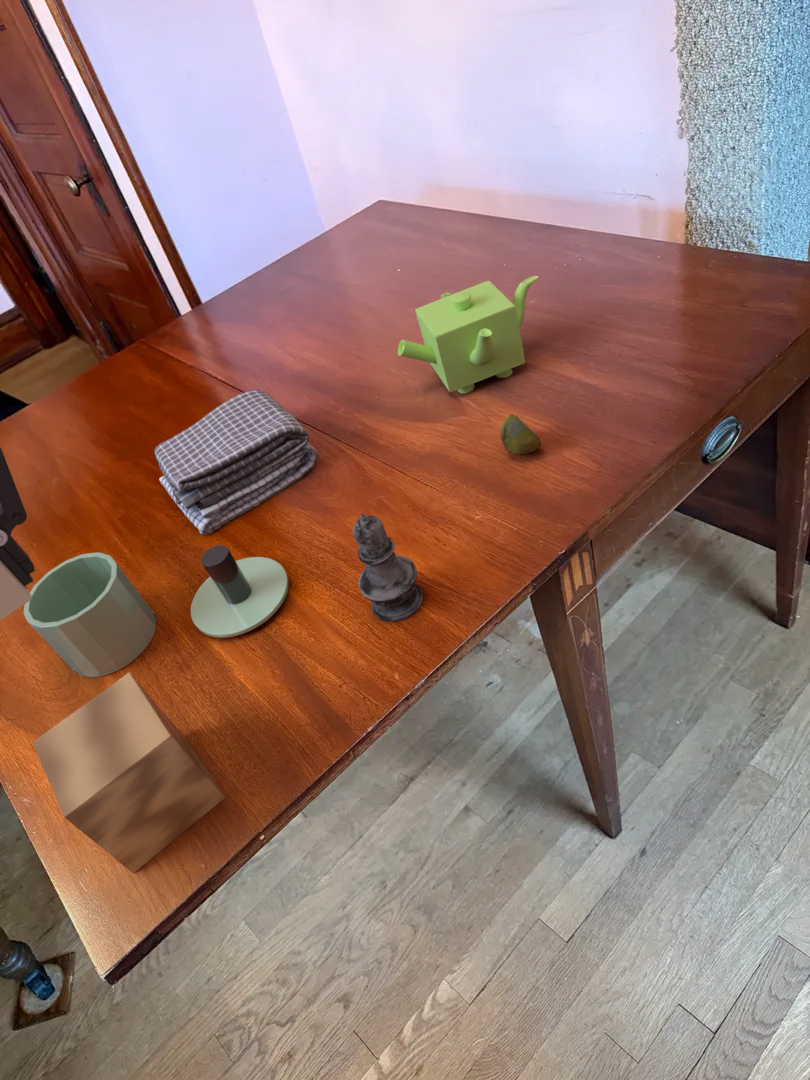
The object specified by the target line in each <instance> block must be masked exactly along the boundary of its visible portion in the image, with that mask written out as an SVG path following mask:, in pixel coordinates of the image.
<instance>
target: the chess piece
mask: <svg viewBox="0 0 810 1080" xmlns="http://www.w3.org/2000/svg"><path fill="white" fill-rule="evenodd" d="M358 518H359V519H356V521H355V523H354V524H353V527H352V535H353V537H354V540H355V542H356V544H357V547H358V552H357V557H358V559H359V561H360V562H361V563H363V564H364V565H365V568H364V569H363V570H362V572H361V574H359V578H358V589H359V591H360V593H361V595H362V596H364V598H366V599H368V600H369V602H371V604H370V605H371V611H372V613H373V615H374V616H375V617H376V618H377V619H379V620H381V621H384V622H388V623H393V622H400V621H404V620H405V619H407V618H410V617H411V616H413V615H414V614H415V613H416V612H417V611H418V610H419V608H420V607H421V605H422V603H423V598H424V597H423V596H424V595H423V591H422V589H421V587H420V586H419V585H418V584H417V583H416V582H417V577H418V570H417V566H416V564H415V563H414V561H412V560H411V559H410V558H409V557H407V556H403V555H397V554H396V552H395V549H396V544H395V542H394V540H393V539H392V538H391V537H389V536H388V535H387V534H388V533H387V532H386V530H385V527H384V525H383V522H382V520H381V519H380V518H379V517H377V516H375V515H367V514H365V513H360V515H359V517H358Z"/></svg>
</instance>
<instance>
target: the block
mask: <svg viewBox="0 0 810 1080" xmlns="http://www.w3.org/2000/svg"><path fill="white" fill-rule="evenodd" d="M31 599H32V597H31V595H30V592H29V590H28V588H27V586H23V585H22V583H21V582H20V581H19V580H18V579H17V578H16V577H15V576H14V575H13V574H12V573H11V571H10V570H9V569H8V568H7V567H6V566H5V565H4V564H3V563H2V562H1V561H0V621H1V620H3V619H4V618H6V617H7V616H9V615H10V614H12V613H13V612H15V611H17V610H19V608H21V607H22V606H25V603H27V602H28V601H30V600H31Z"/></svg>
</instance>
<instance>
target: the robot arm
mask: <svg viewBox="0 0 810 1080" xmlns="http://www.w3.org/2000/svg"><path fill="white" fill-rule="evenodd" d="M27 518H28V514H27V512H26V510H25V506H24V503H23V501H22V499H21V495H20V494H19V491H18V488H17V486H16V483H15V480H14V477H13V475H12V473H11V470H10V468H9V465H8V463H7V460H6V458H5V455H4V452H3V449H2V448H1V447H0V561H1V562H2V563H3V564H4V565H5V566H6V567H7V568H8V569H9V570H10V571H11V573H12V574H13V575H14V576H15V577H16V578H17V579H18V580H19V581H20V582H21V583H22V585H23V586H26V587H27V586H28V585H30V584H31V583H33V582H34V579H33V577H32V575H31V574H32V573H33V572H35V571H36V570H35V565H34V563H33V562H32V560H31V558H30V556H29V555H28V553H27V552H26V551H25V550H24V549H23V548H22V547H21V546H20V544H19V543H18V542H17V541H16V540H15V539H14V537H12V532H13V530H14V529H15V528H16V526H19V525H22V524H24V523H25V522H26V521H27Z"/></svg>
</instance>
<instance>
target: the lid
mask: <svg viewBox="0 0 810 1080" xmlns="http://www.w3.org/2000/svg"><path fill="white" fill-rule="evenodd" d="M200 563H201V565H202V566H203V568H204V569H205V571H206V572H207V574H208V575H209V577H208V578H206V579H205V580H204V581H203V583H202V584H201V585H200V586H199V588H198V589H197V590H196V593H195V594H194V596H193V598H192V601H191V605H190V618H191V621H192V623H193V624H194V626H195V627H196V629H198V631H199V632H200V633H202V634H203V635H205V636H208V637H213V638H219V639H220V638H232V637H236V636H241V635H243V634H246V633H248V632H250V631H253V630H255V629H256V628H258V627H260V626H261V625H263V624H264V623H266V622H267V621H268V620H269V619H270V618H272V616H273V615H274V614H275V613H276V612H278V610H279V609H280V607H281V606H282V605H283V604H284V601H285V600H286V597H287V594H288V590H289V583H290V582H289V576H288V573H287V571H286V570H285V568H284V566H282V565H281V563H279V561H277V560H274V559H273V558H269V557H264V556H250V557H245V558H241V559H238V560H236V559H235V558H234V556H233V554H232V553H231V550H230V549H229V547H228V546H227V545H224V544H217V545H214V546H211V547H210V548H208V549H207V550H205V551H204V552H203V554H202V556H201V558H200Z"/></svg>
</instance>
